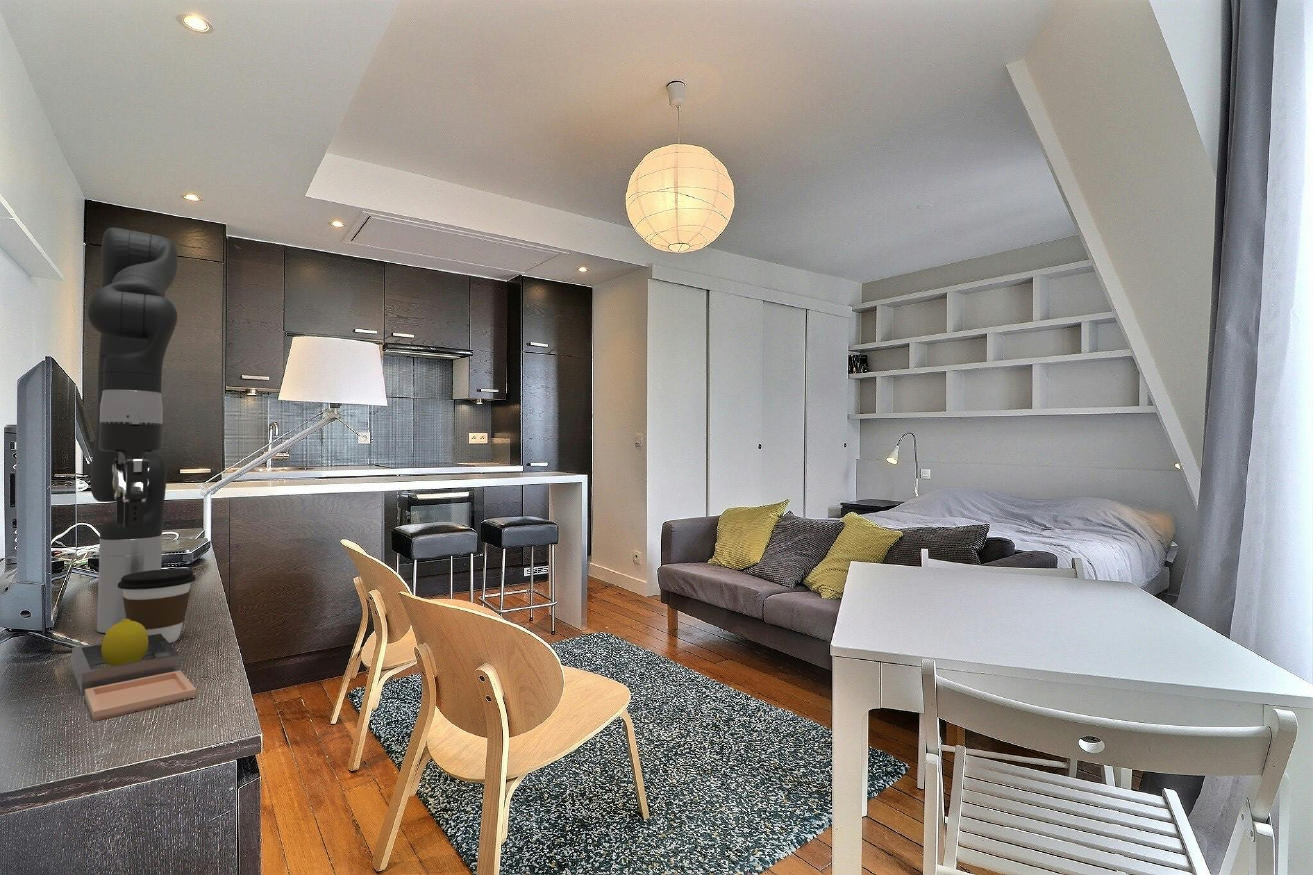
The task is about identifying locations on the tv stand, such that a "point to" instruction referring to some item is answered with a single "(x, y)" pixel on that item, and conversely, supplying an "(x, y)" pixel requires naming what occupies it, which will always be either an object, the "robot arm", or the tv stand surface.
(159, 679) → the tray
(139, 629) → the lemon
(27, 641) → the tv stand surface
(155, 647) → the grey open box
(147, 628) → the coffee cup
